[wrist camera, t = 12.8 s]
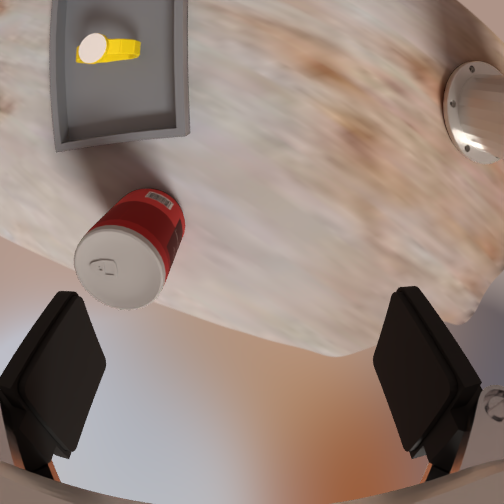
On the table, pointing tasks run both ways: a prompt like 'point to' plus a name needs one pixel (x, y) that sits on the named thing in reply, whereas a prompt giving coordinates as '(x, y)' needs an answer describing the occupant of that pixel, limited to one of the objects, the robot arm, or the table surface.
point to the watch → (106, 49)
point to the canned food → (131, 250)
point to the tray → (119, 73)
